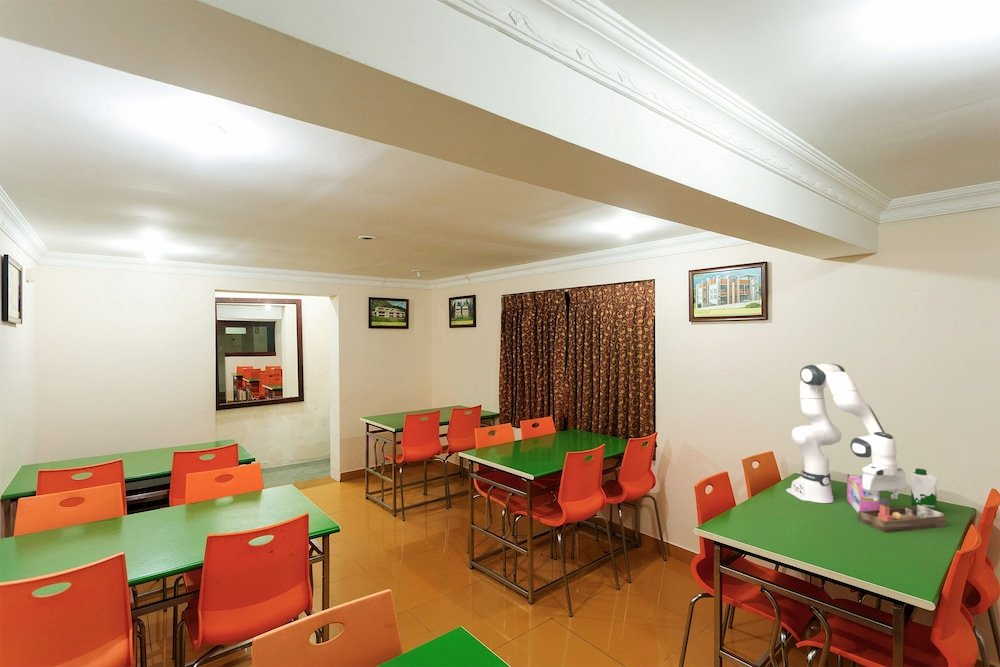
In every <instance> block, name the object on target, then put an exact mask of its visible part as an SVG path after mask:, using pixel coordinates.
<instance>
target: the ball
mask: <svg viewBox="0 0 1000 667" xmlns="http://www.w3.org/2000/svg"><path fill="white" fill-rule="evenodd" d="M892 517H893V518H894V519H895V520H900V519H901V518H902V515H901V514H900V513H898V512H893V513H892Z"/></svg>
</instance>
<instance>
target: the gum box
mask: <svg viewBox="0 0 1000 667" xmlns="http://www.w3.org/2000/svg"><path fill="white" fill-rule="evenodd" d="M862 476H863V475H860V476H857V475H850V474H846V498H847V499H846V500H847V502H848V503H849V504H850V505H851V507H852V508H853V509H854V510H855V511H856V512H857V513H858V511H869V510H880V504H879V501H875V500H873V495H872V494H871V492H869V491H866V490H864V489H863V486H862ZM880 492H881V491H878V493H876V494H877V496H878V497H880V498H881V496H880V495H881V494H880Z"/></svg>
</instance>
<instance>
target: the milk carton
mask: <svg viewBox="0 0 1000 667" xmlns="http://www.w3.org/2000/svg"><path fill="white" fill-rule="evenodd" d="M909 475H910V476H909V477H910V488H911V489H910V490H911V491H910V493H911V494H910V497H911V499H910V501H911V503H910V505H911V506H910V507H914V506H917V505H920V506H923V507H926V508H929V509H932V510H935V511H938V506H937V505H938V501H937V500H938V498H937V496H938V495H937V494H938V493H937V491H938V490H937V486H938V485H937V484H938V481H939V480H938V479H939V478H938V477H936V476H934V475H933V474H931V473H928V472H927V470H926V469H924V468H915V472H909Z"/></svg>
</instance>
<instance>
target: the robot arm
mask: <svg viewBox="0 0 1000 667" xmlns="http://www.w3.org/2000/svg"><path fill="white" fill-rule="evenodd" d="M799 374H800V375H799V377H800V379H801V380H800V382H799V389H798V390H799V392H798V393H799V396H798V397H799V403H800V404H799V405H800V412H801V415H802V416H805V417H807V419H808V420H809V422H810V424H805V425H804V424H802V425H800V426H797V427H796V426H795V427H794V428H793V429H792V430H791V433H790V437H791V440H792V441H793V443H794V444H795V445H796V446H798V447H799V449H800V450H801V453H802V457H803V469H801V470H799V472H800V473H801V476H799V477H797V478H796V479H793V480H792V482H791V487H788V488H786V490H785V492H787V493H789V494H790V495H792V496H793V497H796V498H797V499H799V500H801V501H805V502H806V501H807V502H812V503H819V504H830V503H833V502H834V495H833V492H832V485H831V482H830V481H831V473H830V459H829V457H828V456H827V455H825V454H824V453H823V452H822V449H821V447H822V446H831V445H834V444H837V443H840V441H841V439H842V433H841V430H840V429H839V428H838V427H837V426H835V424H834V423H833V422H832V421H831V419H830V418H829V416H828V413H827V409H826V402H825V393H824V389H825V387H827V388H828V389H829V391H830V394H831V398H832V400H833V403H834V404H835V406H836V407H837V408H838V409H839V410H841V411H842V412H845V413H848V414H850V415H853V416H855V417H857V418H859V419H860V420H861V421H862V423H863V425H864V427H865V430H867V433H868V435H865V436H857V437H854V438H852V439H851V441H850V450H851V452H852V453H853V454H854V455H855V456H856V457H859V458H863V459H867V458H870V459H871V463H870V464H868V465H866V466H864V467H862V468H861V469H862V473H863V474H862V475H861V476H862V486H863V489H864V490H866V491H869V492H871V494H872V495H873V500H875V501H879V500H880V498H881V496H880V497H878V496H877V494H876V493H878V491H879V492H885V491H893V492H892V494H890V499H891V500H898V496H899V494H900V490H906V489H907V488H908V482H907V476H906V473H905V470H904V469H903V468H902V467H898V462H897V460H896V457H897V444H896V440H895V438H894V436H893V435H892V434H890V433H887V432H885V430H884V428H883V426H882V425H881V423H880V421H879V419H878V417H877V416H876V414H875V413H874V411H873V409H872V408H871V406H870V405H869V404H868V403H867V402H866V401H865V400H864V399H863V396H862V395H861V393H860V391H859V389H858V386H857V385H856V383H855V381H854V379H853V378H852V376H851V375H850V374H849V373H848V372H846V370H845V368H844V367H843V366H841V365H840V364H837V363H819V364H809V365H806V366H804V367H802V368H801V369H800V373H799Z"/></svg>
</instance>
